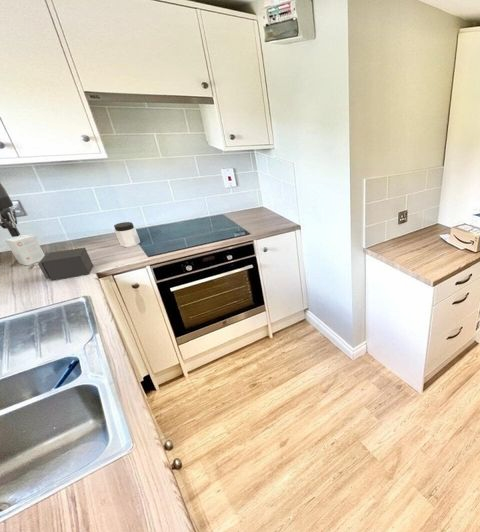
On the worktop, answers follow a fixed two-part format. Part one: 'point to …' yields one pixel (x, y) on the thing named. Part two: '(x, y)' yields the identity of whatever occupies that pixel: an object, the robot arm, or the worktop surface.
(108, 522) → the worktop surface
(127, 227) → the jar
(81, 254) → the cabinet
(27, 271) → the drawer
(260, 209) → the worktop surface
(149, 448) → the worktop surface
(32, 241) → the small box
